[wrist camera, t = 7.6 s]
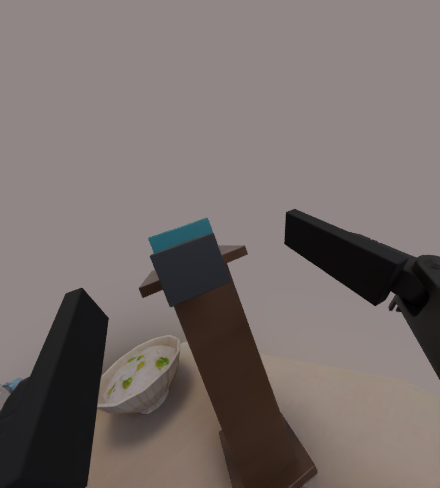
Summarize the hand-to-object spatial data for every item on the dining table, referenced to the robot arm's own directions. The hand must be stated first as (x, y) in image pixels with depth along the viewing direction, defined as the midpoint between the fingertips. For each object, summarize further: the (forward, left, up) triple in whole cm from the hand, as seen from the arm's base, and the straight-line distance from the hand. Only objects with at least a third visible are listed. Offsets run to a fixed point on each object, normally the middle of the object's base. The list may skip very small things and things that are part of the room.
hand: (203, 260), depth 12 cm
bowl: (-37, +3, -30) cm, 48 cm away
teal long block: (-5, +3, -1) cm, 5 cm away
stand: (-10, +6, -30) cm, 32 cm away
